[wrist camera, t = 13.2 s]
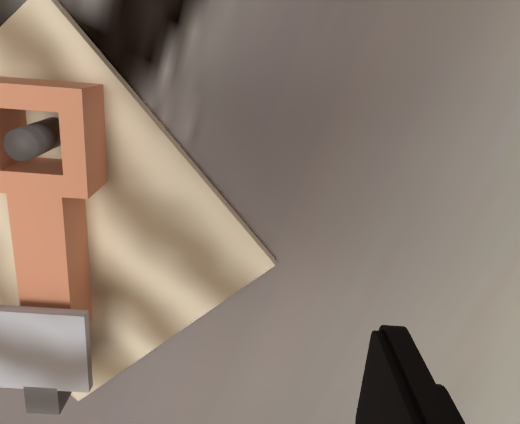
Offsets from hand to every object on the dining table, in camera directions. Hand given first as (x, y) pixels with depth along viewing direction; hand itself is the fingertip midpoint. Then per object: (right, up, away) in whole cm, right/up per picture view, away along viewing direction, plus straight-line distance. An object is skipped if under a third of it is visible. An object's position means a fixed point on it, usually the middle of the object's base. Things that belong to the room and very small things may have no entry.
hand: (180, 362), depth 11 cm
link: (-13, +4, +23) cm, 27 cm away
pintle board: (-13, +3, +25) cm, 28 cm away
